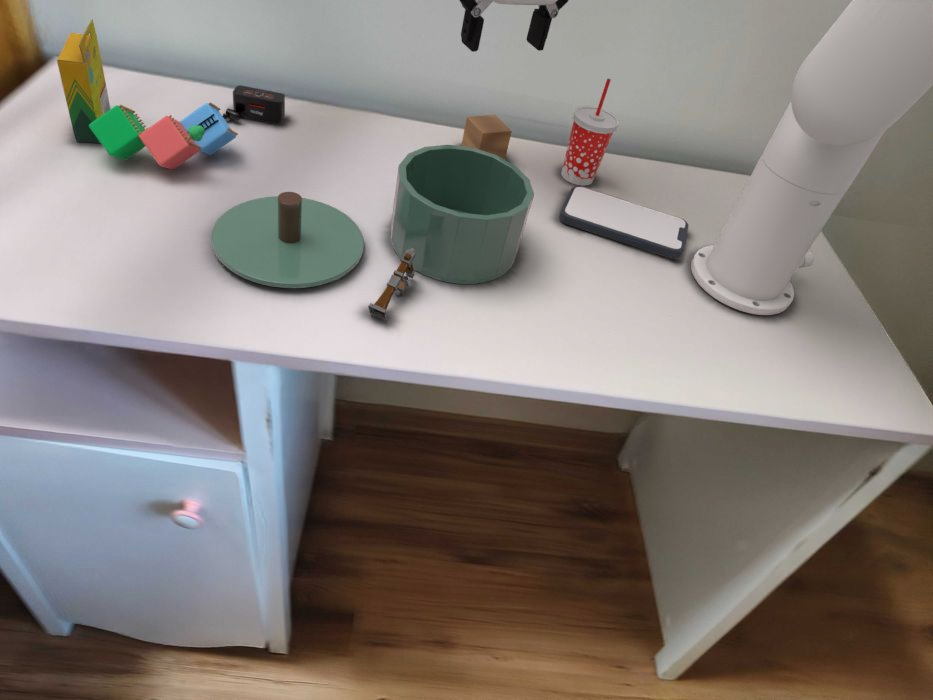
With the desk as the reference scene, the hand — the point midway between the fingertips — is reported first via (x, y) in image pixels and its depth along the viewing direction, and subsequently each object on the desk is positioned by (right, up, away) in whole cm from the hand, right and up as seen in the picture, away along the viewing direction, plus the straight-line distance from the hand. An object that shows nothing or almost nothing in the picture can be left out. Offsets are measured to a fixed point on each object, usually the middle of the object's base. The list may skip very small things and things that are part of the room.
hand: (502, 46), depth 86 cm
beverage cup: (+11, -14, +11) cm, 21 cm away
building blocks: (-40, -15, -4) cm, 43 cm away
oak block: (-2, -11, +10) cm, 15 cm away
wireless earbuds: (-33, -7, +6) cm, 34 cm away
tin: (-6, -26, -6) cm, 27 cm away
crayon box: (-50, -11, -3) cm, 51 cm away
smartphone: (+16, -22, +4) cm, 27 cm away
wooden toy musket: (-12, -33, -15) cm, 38 cm away
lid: (-23, -26, -13) cm, 37 cm away
